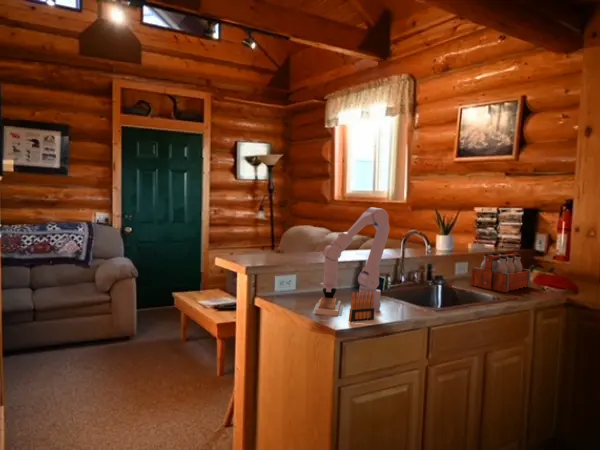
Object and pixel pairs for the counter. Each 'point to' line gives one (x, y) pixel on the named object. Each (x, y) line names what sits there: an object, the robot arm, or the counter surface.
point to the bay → (328, 310)
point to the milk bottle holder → (501, 273)
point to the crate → (327, 303)
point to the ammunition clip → (362, 307)
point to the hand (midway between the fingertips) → (328, 305)
